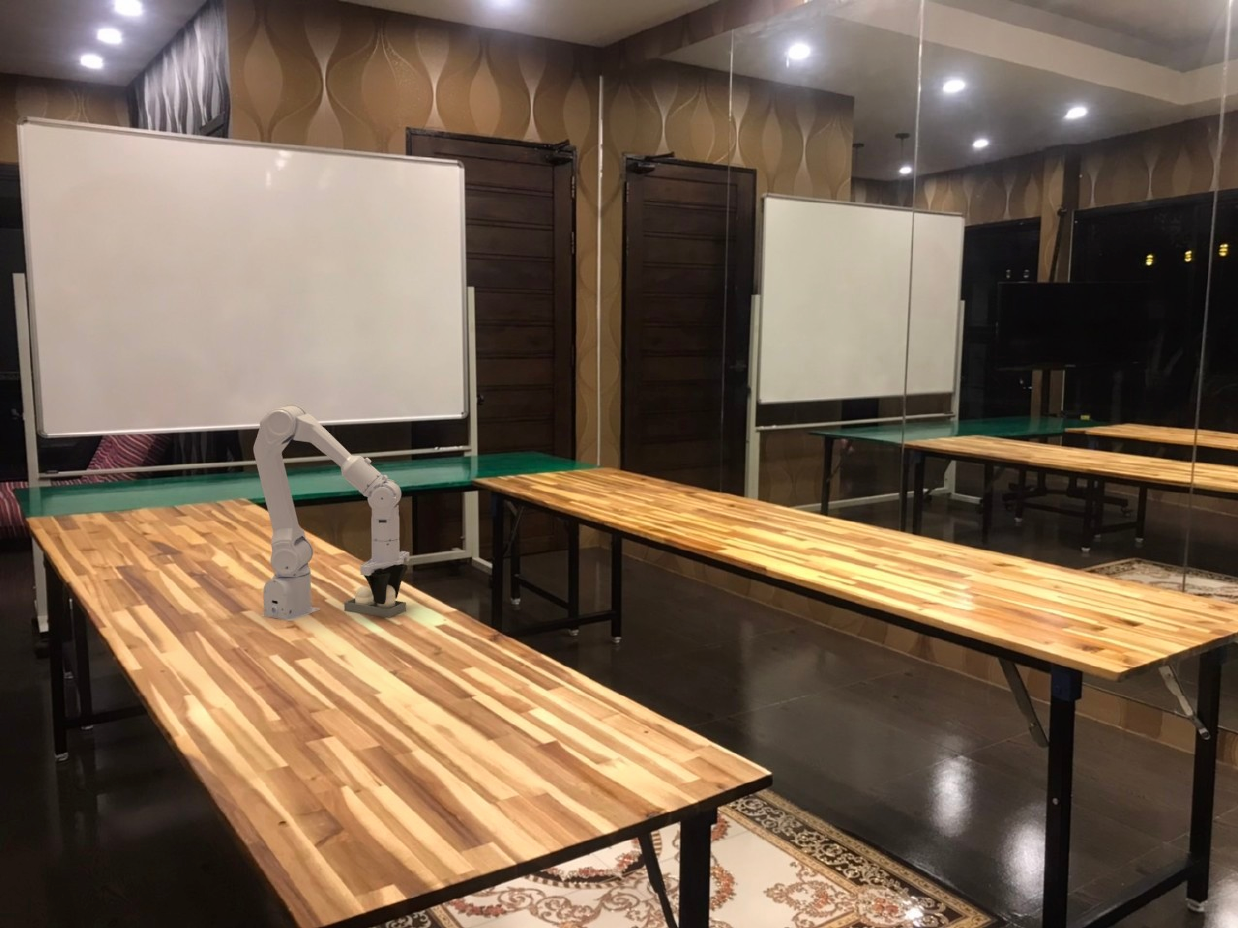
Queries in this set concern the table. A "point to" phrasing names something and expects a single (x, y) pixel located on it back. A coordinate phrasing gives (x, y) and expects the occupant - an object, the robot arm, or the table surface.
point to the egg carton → (375, 609)
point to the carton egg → (364, 596)
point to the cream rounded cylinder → (388, 598)
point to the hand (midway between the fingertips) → (386, 600)
